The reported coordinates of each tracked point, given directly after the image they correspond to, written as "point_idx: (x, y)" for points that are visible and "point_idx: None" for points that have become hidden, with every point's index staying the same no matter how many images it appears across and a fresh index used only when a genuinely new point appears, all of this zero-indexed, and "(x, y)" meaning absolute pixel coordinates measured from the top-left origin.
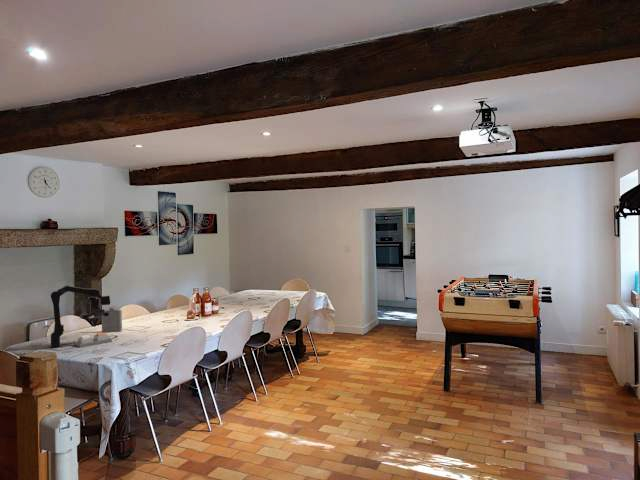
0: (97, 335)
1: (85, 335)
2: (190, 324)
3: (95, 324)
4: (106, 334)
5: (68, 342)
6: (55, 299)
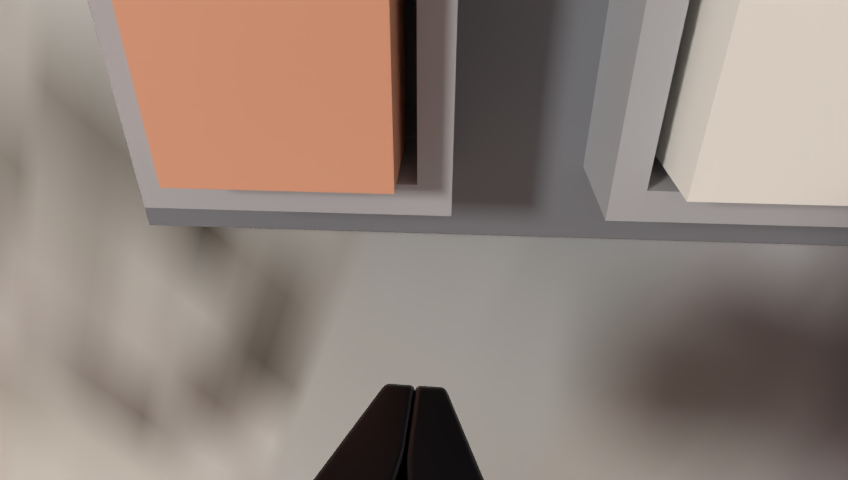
0: (396, 59)
1: (769, 189)
2: None
3: (372, 468)
4: (93, 11)
5: (755, 446)
6: None
